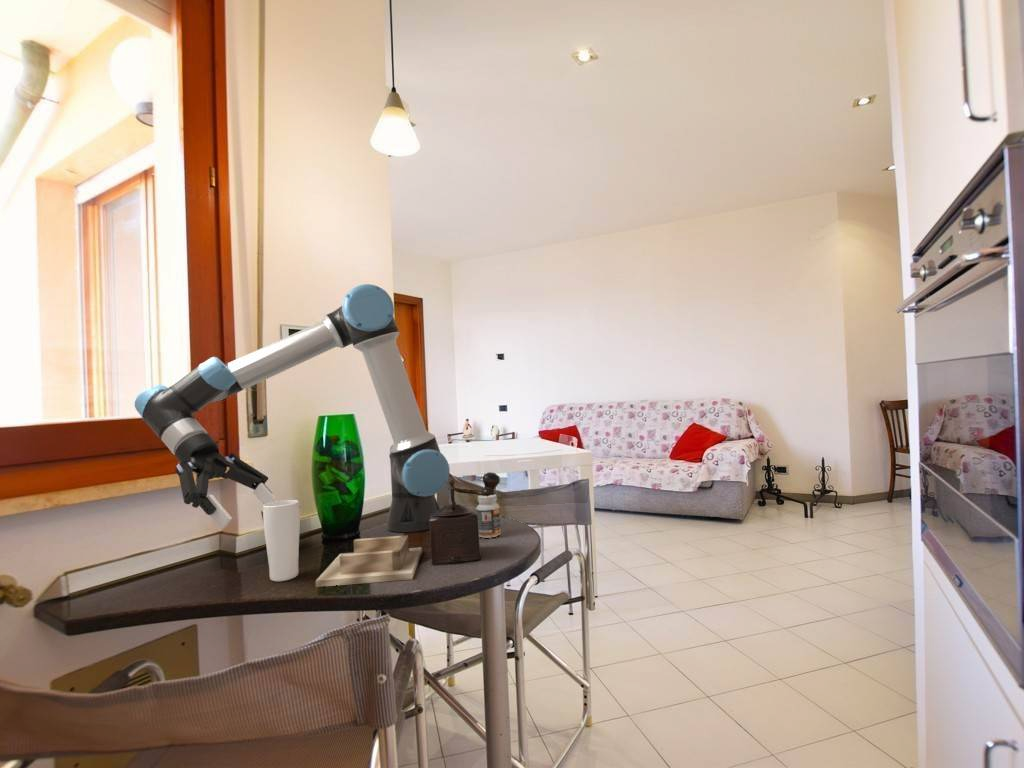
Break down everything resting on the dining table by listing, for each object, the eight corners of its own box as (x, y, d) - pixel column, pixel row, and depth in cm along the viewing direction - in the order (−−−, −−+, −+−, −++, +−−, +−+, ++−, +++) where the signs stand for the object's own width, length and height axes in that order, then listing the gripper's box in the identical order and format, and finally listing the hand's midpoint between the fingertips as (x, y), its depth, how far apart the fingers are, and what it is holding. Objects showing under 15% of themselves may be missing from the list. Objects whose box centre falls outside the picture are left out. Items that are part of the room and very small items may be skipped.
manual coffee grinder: (430, 566, 108) (425, 478, 108) (431, 552, 119) (427, 471, 119) (505, 559, 110) (500, 472, 110) (499, 545, 121) (495, 466, 121)
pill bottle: (500, 538, 127) (498, 497, 127) (476, 539, 127) (474, 498, 127) (501, 532, 132) (499, 493, 133) (478, 534, 132) (476, 494, 133)
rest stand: (315, 587, 99) (314, 562, 99) (340, 559, 117) (339, 537, 117) (412, 579, 100) (410, 554, 101) (421, 552, 118) (420, 531, 119)
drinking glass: (308, 571, 109) (305, 499, 110) (291, 583, 102) (288, 505, 103) (277, 572, 110) (274, 500, 110) (258, 584, 103) (255, 507, 103)
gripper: (227, 451, 124) (284, 515, 120) (125, 464, 100) (191, 545, 96) (245, 427, 123) (303, 491, 119) (145, 436, 99) (213, 516, 95)
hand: (253, 515), depth 107 cm, fingers open, 13 cm apart
